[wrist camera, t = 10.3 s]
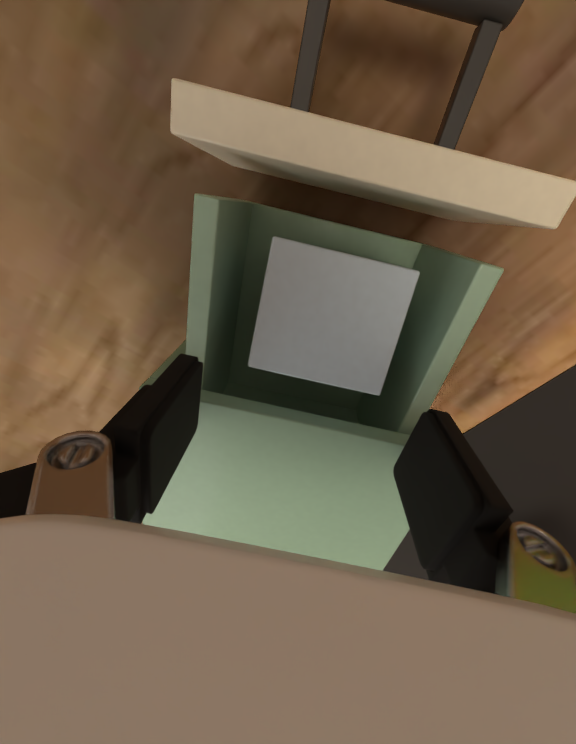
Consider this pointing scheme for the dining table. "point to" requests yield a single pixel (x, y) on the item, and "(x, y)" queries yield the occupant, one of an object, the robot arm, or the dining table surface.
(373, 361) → the carton
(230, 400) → the cabinet
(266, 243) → the drawer
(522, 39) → the dining table surface
